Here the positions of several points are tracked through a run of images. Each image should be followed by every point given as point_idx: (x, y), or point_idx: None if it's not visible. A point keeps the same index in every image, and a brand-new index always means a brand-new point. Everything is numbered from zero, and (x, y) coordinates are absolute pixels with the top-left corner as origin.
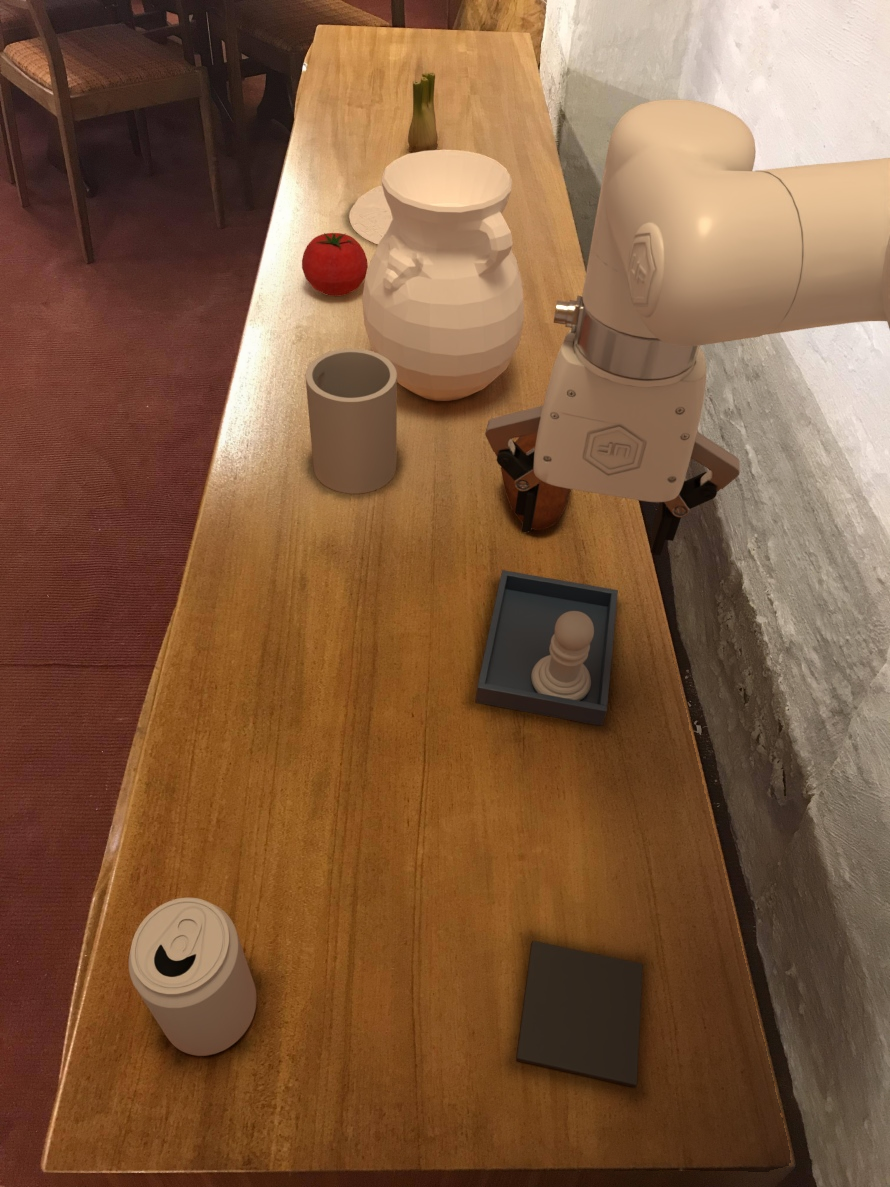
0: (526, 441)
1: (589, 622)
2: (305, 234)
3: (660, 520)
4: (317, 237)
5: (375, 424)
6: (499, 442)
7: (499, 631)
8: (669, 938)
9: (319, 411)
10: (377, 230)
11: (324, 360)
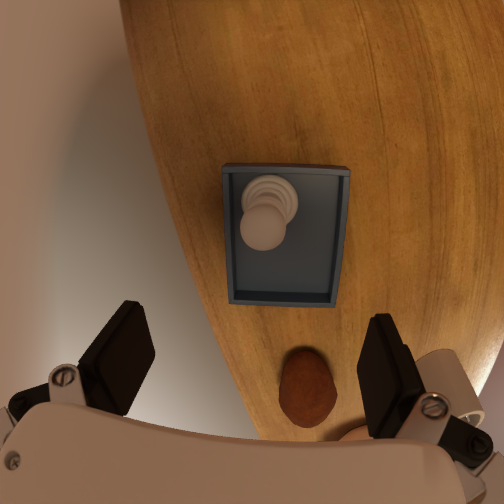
0: (320, 419)
1: (246, 235)
2: None
3: (106, 360)
4: None
5: None
6: (498, 477)
7: (331, 247)
8: (162, 8)
9: (476, 399)
10: None
11: None
